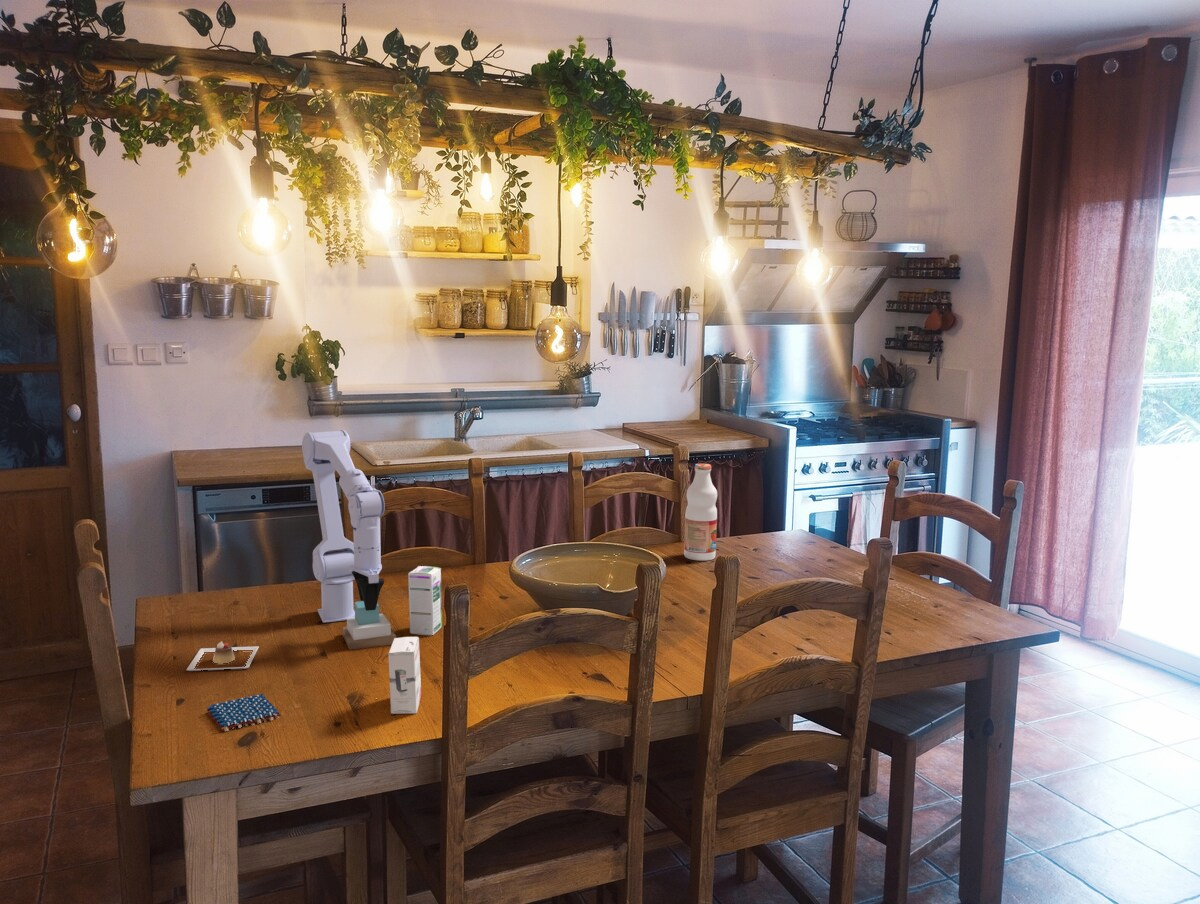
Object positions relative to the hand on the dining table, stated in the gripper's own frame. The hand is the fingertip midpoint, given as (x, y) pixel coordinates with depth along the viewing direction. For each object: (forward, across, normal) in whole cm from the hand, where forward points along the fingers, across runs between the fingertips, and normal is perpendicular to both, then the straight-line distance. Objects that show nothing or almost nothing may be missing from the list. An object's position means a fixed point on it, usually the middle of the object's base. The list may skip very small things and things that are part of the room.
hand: (368, 605), depth 211 cm
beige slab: (+8, 0, 0) cm, 8 cm away
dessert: (+8, +2, -30) cm, 31 cm away
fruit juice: (+8, -35, +104) cm, 110 cm away
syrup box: (+8, -1, +13) cm, 15 cm away
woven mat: (+8, +31, -28) cm, 43 cm away
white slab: (+6, 0, 0) cm, 6 cm away
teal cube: (+3, 0, 0) cm, 4 cm away
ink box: (+8, +37, 0) cm, 38 cm away
